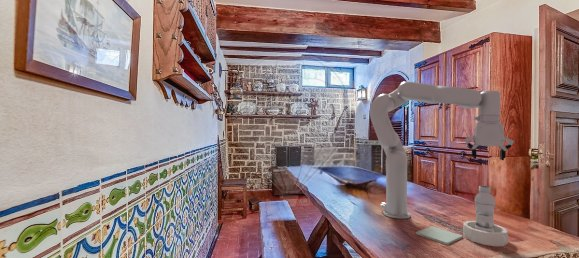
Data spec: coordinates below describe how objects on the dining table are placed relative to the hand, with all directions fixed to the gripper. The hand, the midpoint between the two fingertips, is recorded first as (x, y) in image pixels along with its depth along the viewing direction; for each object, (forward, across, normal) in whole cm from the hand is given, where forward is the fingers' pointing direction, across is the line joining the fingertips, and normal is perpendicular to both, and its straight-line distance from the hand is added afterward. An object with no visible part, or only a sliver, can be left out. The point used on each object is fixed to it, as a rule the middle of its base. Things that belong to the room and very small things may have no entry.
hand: (488, 159), depth 115 cm
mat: (+30, -19, -21) cm, 41 cm away
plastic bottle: (+30, -4, -16) cm, 34 cm away
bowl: (+29, -4, -16) cm, 34 cm away
